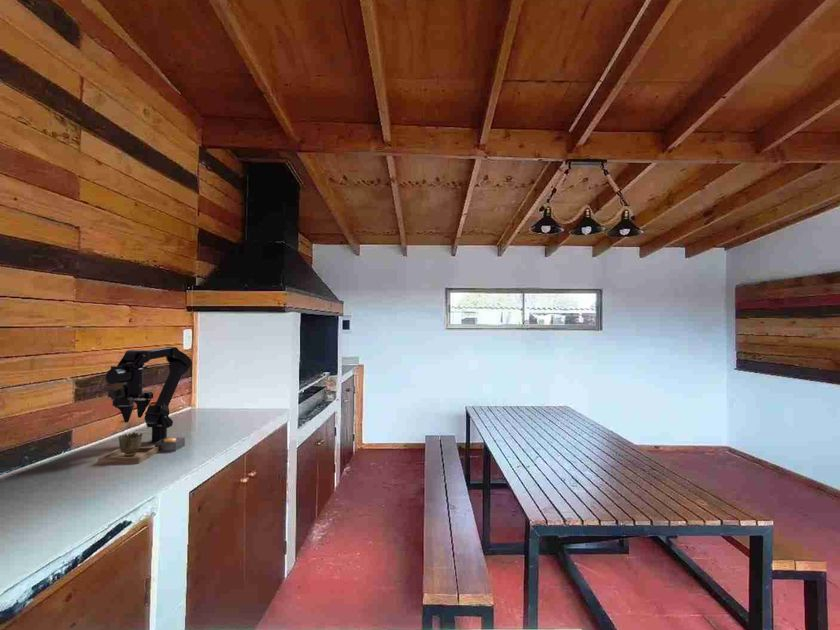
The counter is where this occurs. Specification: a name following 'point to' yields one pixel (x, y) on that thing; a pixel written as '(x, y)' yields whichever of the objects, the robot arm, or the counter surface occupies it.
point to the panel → (170, 444)
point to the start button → (170, 440)
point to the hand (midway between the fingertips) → (133, 419)
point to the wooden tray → (119, 457)
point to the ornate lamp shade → (130, 444)
